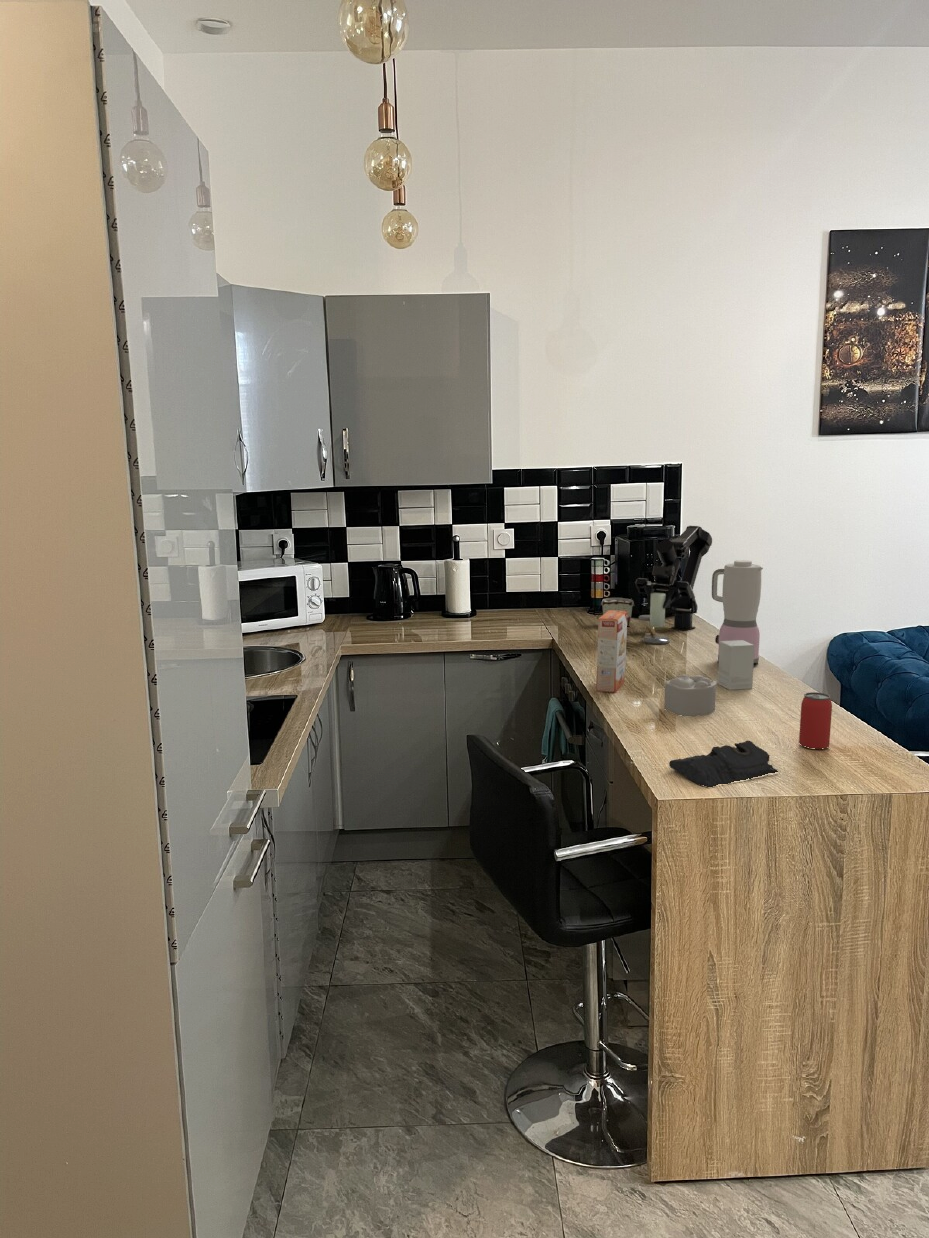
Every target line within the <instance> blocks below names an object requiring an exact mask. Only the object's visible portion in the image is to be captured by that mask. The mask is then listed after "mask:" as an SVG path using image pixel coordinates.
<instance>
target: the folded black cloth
mask: <svg viewBox="0 0 929 1238" xmlns="http://www.w3.org/2000/svg"><path fill="white" fill-rule="evenodd" d="M770 757H771V755H770V754H769V753H768V752H767V751H765V749H762V748H760V747H759V746H758V745H756V744H754V742H753V741H751V740H745V741H743V742H739V743H734V746H731V745H727V744H726V745H725V744H724V745H723V746H721V747H720V746H713V747H712V748H711V751H710V752H709V753H708V754H701V755H693V756H689V757H685V758H677V759H676V758H675V759H672V760H671V759H670V760H669V763H668V764H669V765H668V766H669V767H670V768H671V769H672V770H675V771H676V772H677V773H680V774H681V775H683V776H685V778H687V779H688V780H689V781H691V780H692V781H691V782H693V783H695V782H696V783H697V784H696V783H695V784H696V785H698V784H700V785H699V786H701V785H704V786H707V787H712V788H714V787H713V786H716V785H718V784H728V783H731V782H734V781H740V780H746V779H748V778H749V779H751V778H753V777H758V776H762V775H765V774H768V773H775V772H779V771H777V770H778V769H776V768H774V767H773V765H772V764H769V761H770ZM728 785H729V784H728ZM707 787H706V788H707Z"/></svg>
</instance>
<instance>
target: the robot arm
mask: <svg viewBox="0 0 929 1238" xmlns="http://www.w3.org/2000/svg"><path fill="white" fill-rule="evenodd" d="M712 544H713V538H712V536H711V534H710V532H708V531H707V530H705V529H703V527H701V526H700V525H688V526H687V527H686V528H685V530H684V531H683V532H682V533H681V534H680V535H679V536H678V537H677V538H674V539H671V537H670V538H669V537H665V538H664V539H663V540H662V541H659V542H658V543H657V544H656V545H655V550H656V552H657V554H658V557H659V559H660V561H661V562H662V565H653V569H652V572H651V575H652V576H653V577H654V578H653V580H654V582H652V581H649V578H644V577H642V578H641V577H638V578H636V579H635V582H634V585H635V588H636V589H637V592H638V593H639V594H645V595H646V596H647V606H648V608H650V599H651V593H655V592H654V591H655V590H657V591H664V592H666V591H667V594H666V598H665V602H664V605H663V609H665V610H666V608H667V607H669V606H670V612H672V613H673V612H674V619H673V621H674V622H673V625H672V626H670V629H675V630H679V631H689V630H693V629H696V626H693V614H697V613H698V603H697V600H696V596H695V593H694V587H695V582H696V580H697V575H698V573H699V568H700V565H701V563H702V558H703V557H704V556H705V555H707V554H708V552H709V550H710V548H711V546H712ZM687 555H688V558H687V561H686V564H685V567H684V569H683V570H684V571H683V574H682V578H681V580H679V581H677V574H678V570H679V569H681V560H680V558H681V559H685V558H686V557H687ZM675 582H676V584H674V583H675Z"/></svg>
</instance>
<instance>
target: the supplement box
mask: <svg viewBox="0 0 929 1238" xmlns="http://www.w3.org/2000/svg"><path fill="white" fill-rule="evenodd" d="M718 649H719V663H718V673H717V684H718V685H720V686H721V687H723V688H725V689H727V690H728V691H729V690H730V691H735V690H751V689H753V681H754V664H755V663H754V645H753V644H750V643H748V642H746V641H744V640H734V641H720V647H719V646H718Z"/></svg>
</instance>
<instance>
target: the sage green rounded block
mask: <svg viewBox="0 0 929 1238" xmlns="http://www.w3.org/2000/svg"><path fill="white" fill-rule="evenodd" d="M666 597H667V594H666V593H664V592H654V593H651V599H650V607H649V610H650V611H649V615H650V621H649V627H650V626H652V627H655V628H662V627H665V625H666V622H665V621H666V620H665V619H666V608H665V609H663V605H664V602H665V599H666Z"/></svg>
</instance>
